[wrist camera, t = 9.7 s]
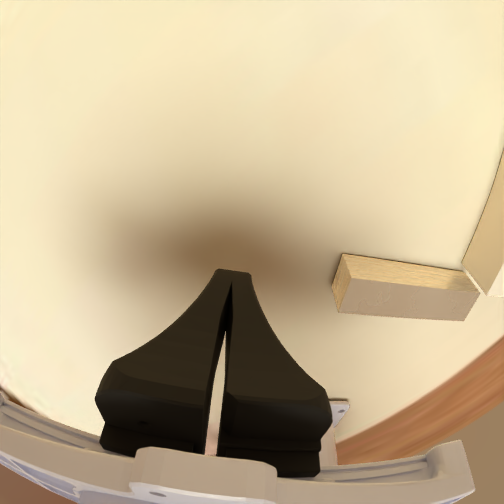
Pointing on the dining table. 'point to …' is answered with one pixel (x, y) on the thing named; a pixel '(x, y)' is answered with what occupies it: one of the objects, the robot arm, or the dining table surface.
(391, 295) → the cream wooden plank
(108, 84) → the dining table surface
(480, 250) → the housing
